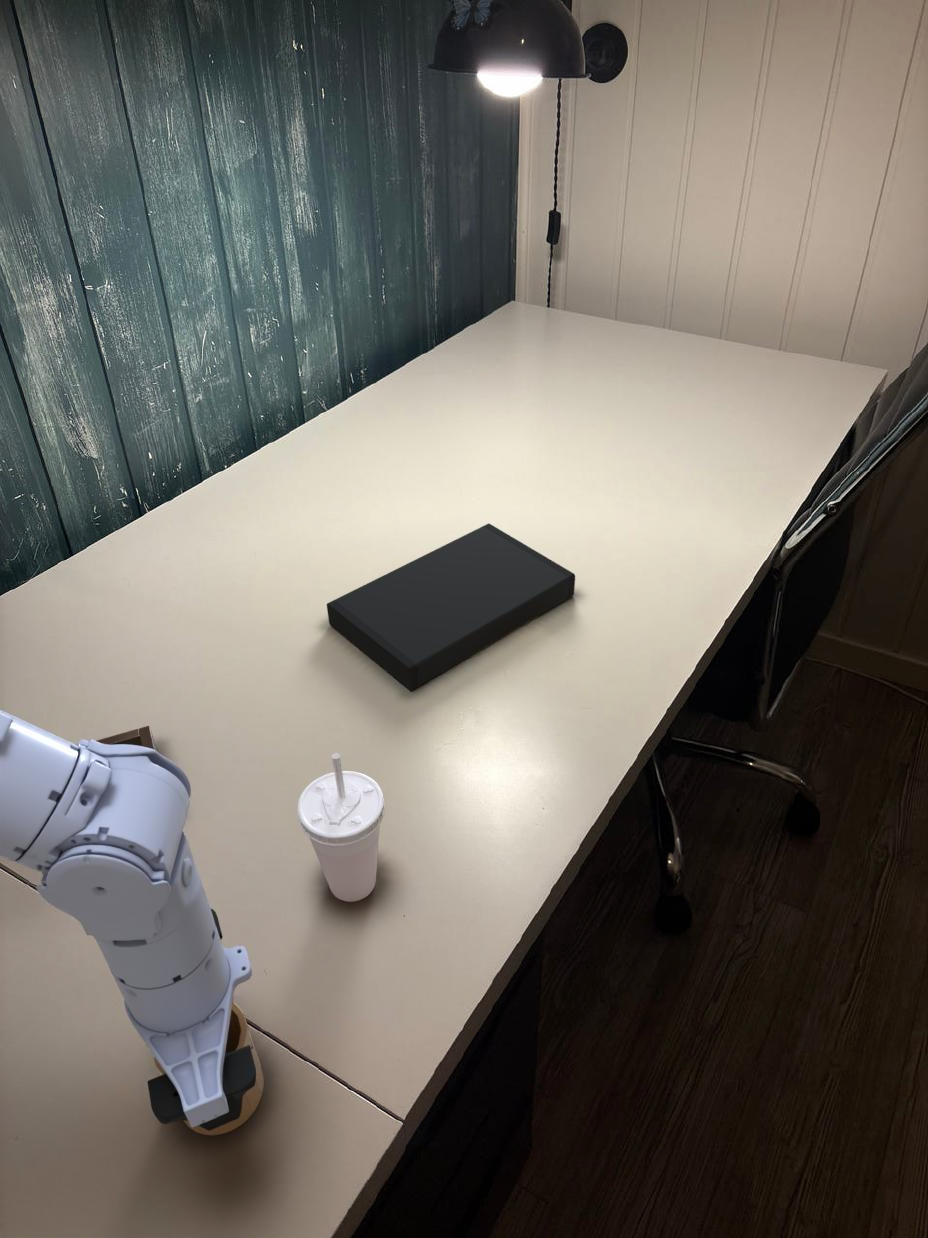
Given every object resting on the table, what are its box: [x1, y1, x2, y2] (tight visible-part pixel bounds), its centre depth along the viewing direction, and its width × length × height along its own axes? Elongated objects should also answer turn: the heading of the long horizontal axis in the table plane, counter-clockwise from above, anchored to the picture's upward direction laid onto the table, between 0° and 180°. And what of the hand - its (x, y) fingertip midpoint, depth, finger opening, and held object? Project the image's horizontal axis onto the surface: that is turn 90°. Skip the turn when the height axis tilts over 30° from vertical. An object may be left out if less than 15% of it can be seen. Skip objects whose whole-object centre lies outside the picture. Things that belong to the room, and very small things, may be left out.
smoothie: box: [297, 752, 386, 903], centre depth 69 cm, size 6×6×14 cm
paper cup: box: [153, 1001, 265, 1136], centre depth 58 cm, size 6×6×7 cm
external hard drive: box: [326, 523, 576, 692], centre depth 99 cm, size 14×23×3 cm, turn 131°
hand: (210, 1060), depth 58 cm, fingers open, 7 cm apart
